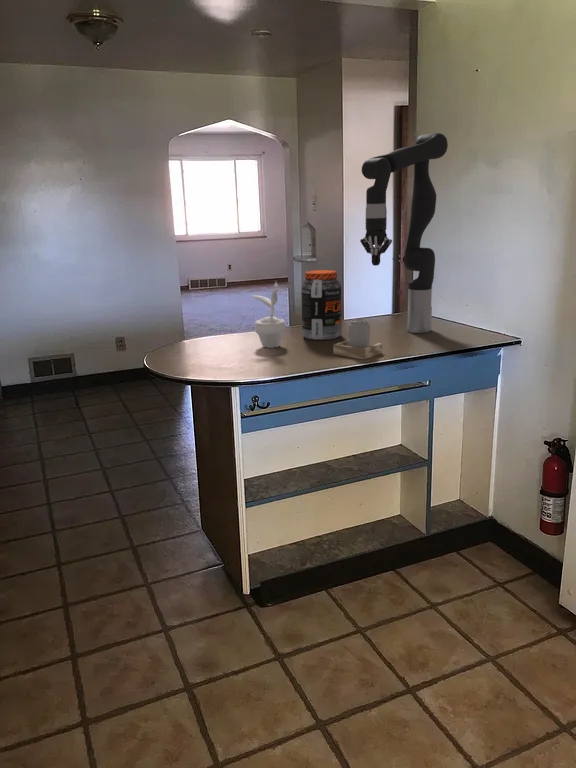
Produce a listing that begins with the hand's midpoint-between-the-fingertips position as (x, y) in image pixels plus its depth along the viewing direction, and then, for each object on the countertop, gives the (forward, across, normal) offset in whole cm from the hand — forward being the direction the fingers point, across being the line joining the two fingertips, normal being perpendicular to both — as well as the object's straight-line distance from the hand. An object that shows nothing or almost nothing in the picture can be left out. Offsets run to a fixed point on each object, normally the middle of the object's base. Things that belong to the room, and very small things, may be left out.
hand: (375, 265), depth 233 cm
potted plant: (+29, +29, +28) cm, 50 cm away
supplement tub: (+29, +23, +4) cm, 37 cm away
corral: (+29, -5, +18) cm, 34 cm away
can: (+29, -5, +17) cm, 34 cm away
